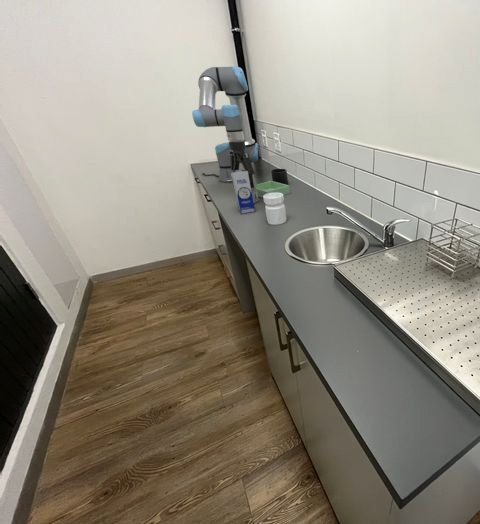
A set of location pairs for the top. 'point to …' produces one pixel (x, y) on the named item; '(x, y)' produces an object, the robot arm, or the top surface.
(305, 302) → the top surface
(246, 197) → the milk carton
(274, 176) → the mug
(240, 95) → the robot arm
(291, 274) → the top surface
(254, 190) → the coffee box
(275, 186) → the bin
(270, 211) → the white pill bottle
